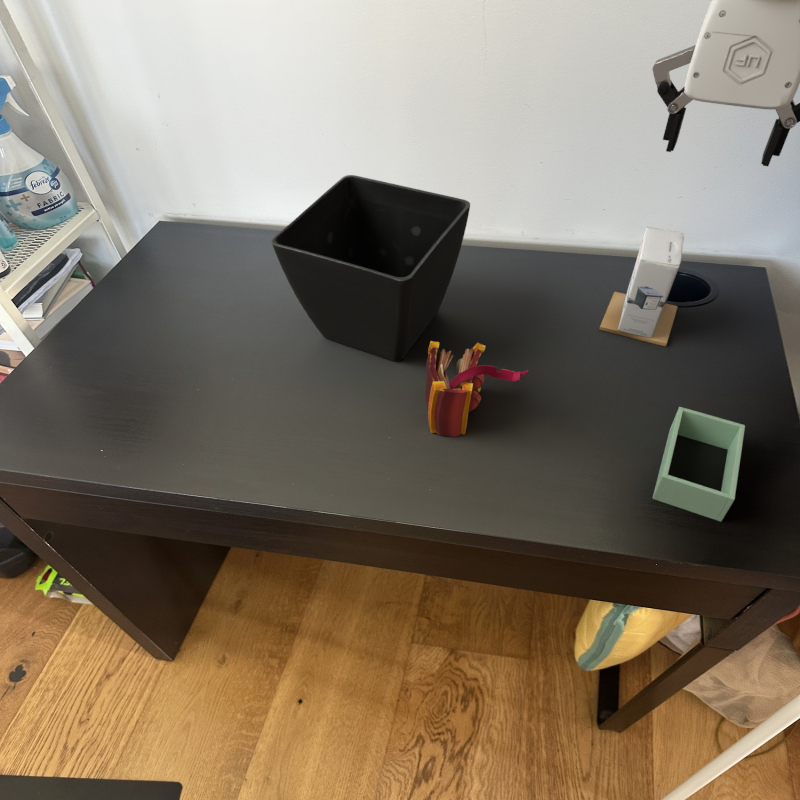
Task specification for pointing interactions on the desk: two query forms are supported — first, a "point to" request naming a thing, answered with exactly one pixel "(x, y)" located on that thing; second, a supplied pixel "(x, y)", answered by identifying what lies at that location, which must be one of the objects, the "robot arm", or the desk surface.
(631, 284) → the ink box
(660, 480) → the sleeve
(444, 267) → the flower pot
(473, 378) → the book monster
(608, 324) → the coaster board
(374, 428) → the desk surface
